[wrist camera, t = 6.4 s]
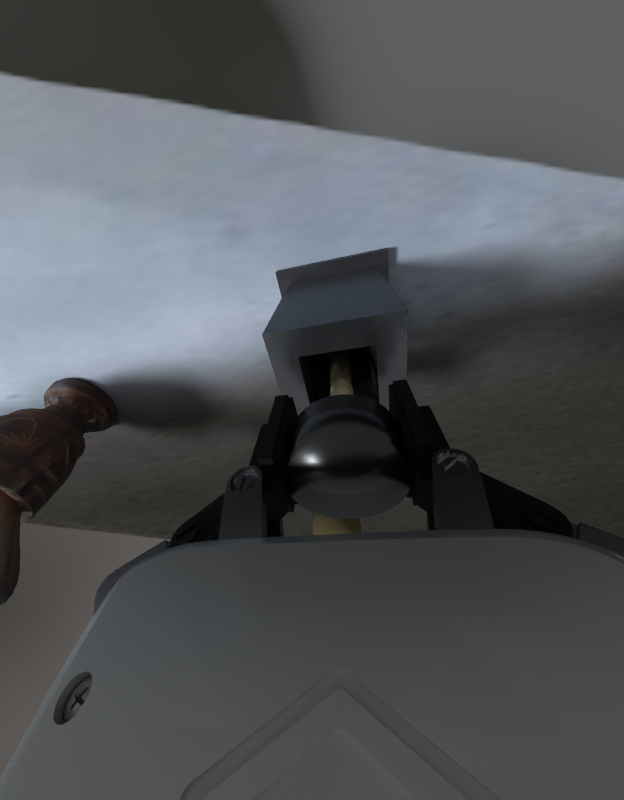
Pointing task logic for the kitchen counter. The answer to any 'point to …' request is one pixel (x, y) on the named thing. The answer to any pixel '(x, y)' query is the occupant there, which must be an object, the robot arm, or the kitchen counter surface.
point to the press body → (338, 328)
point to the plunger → (346, 453)
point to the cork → (335, 525)
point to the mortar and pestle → (42, 459)
